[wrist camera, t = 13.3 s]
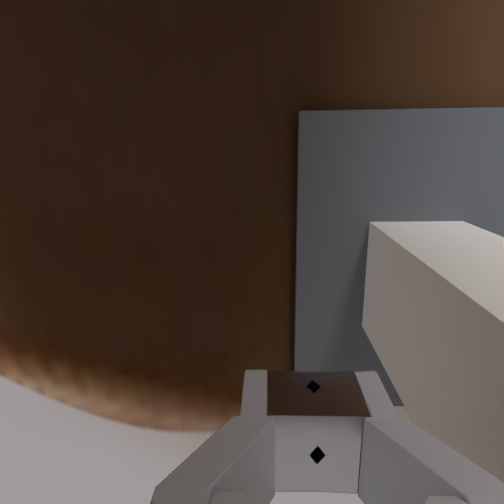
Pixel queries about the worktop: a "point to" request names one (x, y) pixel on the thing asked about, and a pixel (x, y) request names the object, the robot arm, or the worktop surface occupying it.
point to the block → (442, 329)
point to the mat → (380, 209)
